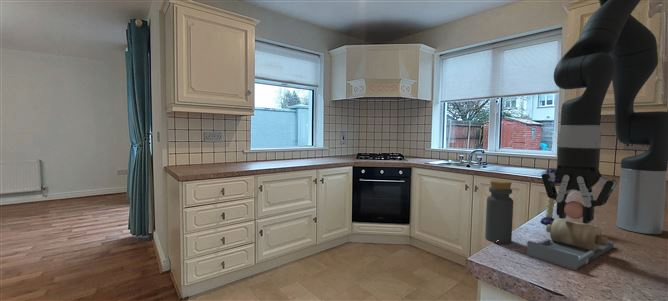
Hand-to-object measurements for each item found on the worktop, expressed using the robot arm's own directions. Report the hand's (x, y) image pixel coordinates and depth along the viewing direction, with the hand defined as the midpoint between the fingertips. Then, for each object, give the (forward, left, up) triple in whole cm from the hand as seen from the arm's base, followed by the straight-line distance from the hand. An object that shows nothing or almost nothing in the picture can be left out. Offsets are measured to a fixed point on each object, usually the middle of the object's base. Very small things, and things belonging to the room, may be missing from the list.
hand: (573, 220), depth 71 cm
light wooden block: (-9, 0, -7) cm, 12 cm away
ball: (0, 0, 0) cm, 0 cm away
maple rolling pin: (-1, 0, -7) cm, 7 cm away
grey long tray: (0, 0, -7) cm, 7 cm away
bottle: (+8, -13, -7) cm, 17 cm away
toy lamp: (-19, -12, -7) cm, 24 cm away
